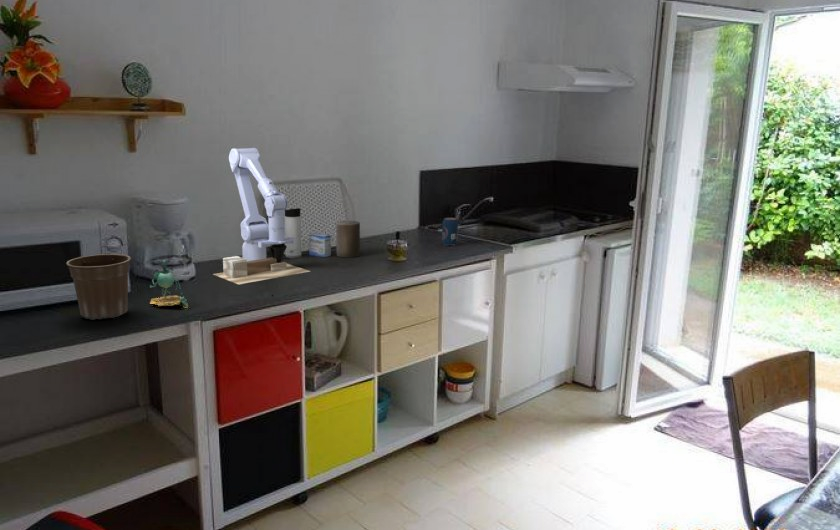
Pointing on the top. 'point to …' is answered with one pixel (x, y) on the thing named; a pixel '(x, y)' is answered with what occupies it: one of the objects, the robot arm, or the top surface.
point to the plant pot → (101, 284)
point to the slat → (260, 265)
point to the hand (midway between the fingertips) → (277, 264)
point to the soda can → (449, 231)
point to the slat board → (238, 273)
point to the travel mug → (293, 232)
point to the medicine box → (319, 245)
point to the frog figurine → (166, 281)
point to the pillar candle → (348, 239)
